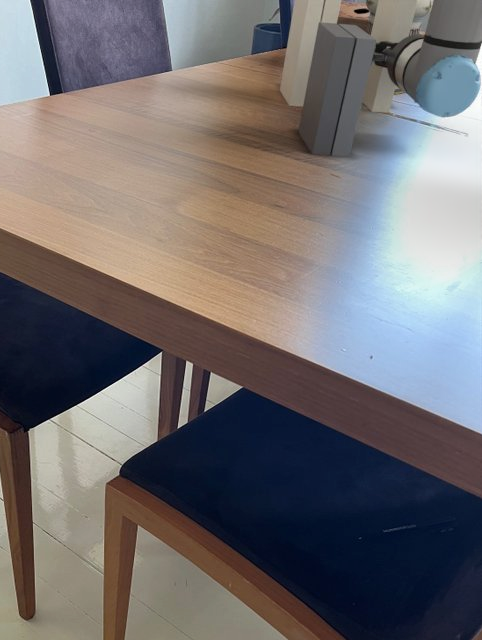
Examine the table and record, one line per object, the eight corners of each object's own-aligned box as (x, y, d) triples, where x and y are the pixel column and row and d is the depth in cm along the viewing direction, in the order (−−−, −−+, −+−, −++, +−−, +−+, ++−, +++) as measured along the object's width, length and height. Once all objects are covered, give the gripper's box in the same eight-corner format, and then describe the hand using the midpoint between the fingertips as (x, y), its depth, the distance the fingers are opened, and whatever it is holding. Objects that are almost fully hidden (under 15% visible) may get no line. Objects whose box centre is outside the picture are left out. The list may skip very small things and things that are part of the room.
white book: (372, 97, 133) (399, -12, 123) (389, 113, 125) (418, -4, 114) (356, 96, 133) (381, -14, 122) (371, 111, 124) (400, -5, 114)
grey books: (331, 139, 109) (356, 25, 100) (348, 163, 100) (376, 39, 91) (297, 137, 109) (318, 22, 99) (310, 160, 100) (335, 36, 91)
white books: (307, 92, 132) (328, -18, 122) (319, 108, 124) (343, -10, 113) (279, 90, 132) (298, -21, 122) (289, 106, 124) (310, -12, 113)
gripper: (331, 88, 110) (306, 59, 127) (491, 99, 112) (445, 69, 128) (343, 31, 106) (315, 10, 123) (510, 44, 107) (459, 21, 124)
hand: (381, 40), depth 125 cm, fingers open, 13 cm apart
